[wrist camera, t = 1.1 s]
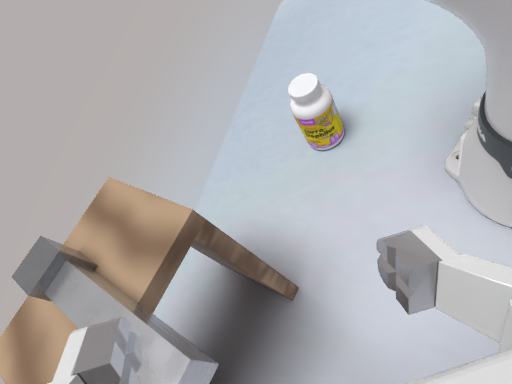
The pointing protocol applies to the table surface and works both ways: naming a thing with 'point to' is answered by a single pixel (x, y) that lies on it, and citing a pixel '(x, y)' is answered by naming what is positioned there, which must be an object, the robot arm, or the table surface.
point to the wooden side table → (124, 270)
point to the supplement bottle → (315, 112)
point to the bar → (110, 312)
